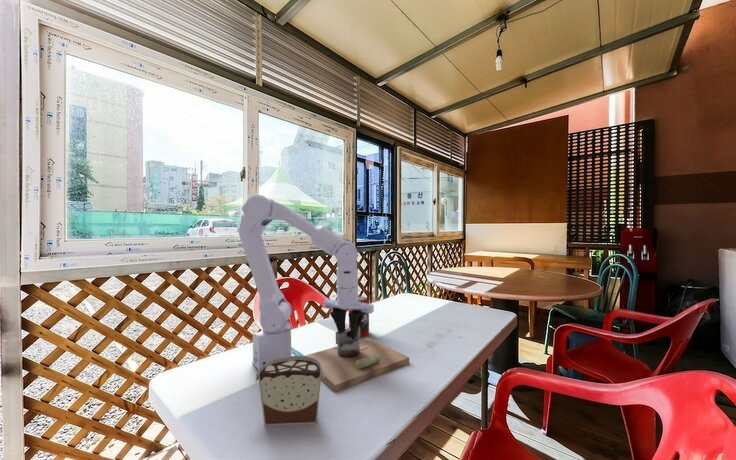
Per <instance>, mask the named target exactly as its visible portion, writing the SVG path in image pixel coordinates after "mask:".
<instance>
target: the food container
mask: <svg viewBox="0 0 736 460" xmlns="http://www.w3.org/2000/svg"><path fill="white" fill-rule="evenodd" d="M321 373H322V375H323V379H324V378H325V376H324V372H323V367H322V366H321V363H320V362H319V361H318V360H317V359H315V358H312V357H308V356H305V355H304V356H295V355H291V356H288V357H282V358H278V359H275V360H273V361H270V362H268V363H266V364H265V365H263V366H262V367H261V368H259V370H258V369H257V373H256V375H255V381H254V382H257V381H258V386H259V392H260V401H261V408H262V415H263V416H262V417H263V423H264V424H263V425H264V427H267V426H268V427H269V426H287V425H288V426H291V425H293V426H294V425H316V424H318V416H319V415H318V413H319V404H320V402H319V401H320V392H321V391H320V390H321V382H322V380H321Z"/></svg>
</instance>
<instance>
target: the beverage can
mask: <svg viewBox="0 0 736 460" xmlns="http://www.w3.org/2000/svg"><path fill="white" fill-rule="evenodd" d="M358 302H363V303H367V304H370V302H369V301H368V298H367V297H366V296H363V295H361V296H360V295H358ZM351 312H353V311H350V310H348V314H349V313H351ZM359 327H360V337H364V336H366V335H367V334H368V333H370V314H369V313H367V312H365V314H364V316H363V318H362V320H361V322H360V325H359ZM348 328H351V325H350V319H349V318H348Z"/></svg>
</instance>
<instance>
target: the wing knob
mask: <svg viewBox="0 0 736 460" xmlns="http://www.w3.org/2000/svg"><path fill="white" fill-rule="evenodd" d="M359 340H361V336H360V327H359V329H358V334H357V337H356V338H355V339H351V328H349V327H348V328H345V330H342V331H338V330H337V331H335V345H336V347H337V353H338V355H340V356H342V357H352V356H356V355H358V354H359V353H360V344H359Z"/></svg>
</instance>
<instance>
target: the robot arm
mask: <svg viewBox="0 0 736 460" xmlns="http://www.w3.org/2000/svg"><path fill="white" fill-rule="evenodd" d="M274 220H276V221H283V222H286V224H287V223H288V224H289V225H291V226H293V227H294V228H295V229H297V230H299V231H301V232H302V233H304V234H306V235H307V236H309V238H310V242H311V244H312V245H314V246H316V248H319V249H321V250H322V251H323V252H325V253H326V254H328V255H329V256H335V258H336V259H335V260H336V263H337V264H336V265H337V269H336V299H335V300H334V299H326V300H324V301H322V304H323V305H322V309H332V310H331V311H330V313H329V314H330V317H331V318H332V319H333V322H334V323H335V326H336V329H337V332H338V331H342V330H345V329H346V317H347V311H349V310H350V311H353V312H351V313H349V312H348V320H349V319H350V325H351V339H355V338H356V337H357V334H358V329H359V325H360V322H361V320H362V318H363V316H364V314H365V312H367V313H369V315H370V314H372V313H374V312H375V311H374V307H375V305H374V304H372V303H369V304H367V303H363V302H358V296H359V275H358V273H359V271H358V270H359V269H358V268H357V267H358V262H357V260H358V258H359V253H358V249H357V247H356V245H355V244H354V243H353V242H351V241H349V240H347V237H345V236H343V237H342V236H341V235H339V234H338V233H336V232H334V231H333V228H332V227H331V226H329V225H328V226H326V225H319V226H317V225H314V223H312V222H311V221H309V220H307V218H305V217H303V216H302V215H300V214H299V213H298V212H296V211H295V210H293V209H291V208H290V207H288V206H286V205H284V204H282V203H280V202H277V201H275V200H274V199H271V198H268V197H266V196H264V195H262V194H261V195H260V194H255V195H252V196H250V197H249V198H248V199H247V200H246V201H245V203H244V204H243V205H242V207H241V218H240V222H239V226H238V227H239V229H238V236H239V239H240V242H241V244H242V249H243V251H244V254H245V257H246V260H247V263H248V266H249V268H250V272H251V274H252V278H253V281H254V283H255V286H256V289H257V293H258V295H259V302H258V309H259V311H260V316H259V322H260V323H259V324H260V326H261V328H262V330H260V331H258V332H256V333H255V332H254V333H253V335H252V361H251V362H252V365H254V366H255V368H256V369H257V371H258V370H259V368H261V367H262V366H263V365H265V364H266V363H268V362H270V361H273V360H275V359H278V358H282V357H288V356H292V353H291V347H292V324H291V323H290V321H289V319H290V317H291V316H292V313H293V309H292V305H291V304H290V303H289V302H288V301H287V299H286V298H285V295H284V293H283V292H282V291H281V289H280V288H279V285H278V281H277V278H276V276H275V273H274V269H273V267H272V264H271V261H270V258H269V254H268V252H267V249H266V247H265V244H264V243H265V242H264V241H263V236H262V234H263V233H264V231H265V229H266V228H267V226H268V225H269V224H270V223H271V222H272V221H273V222H274Z"/></svg>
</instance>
